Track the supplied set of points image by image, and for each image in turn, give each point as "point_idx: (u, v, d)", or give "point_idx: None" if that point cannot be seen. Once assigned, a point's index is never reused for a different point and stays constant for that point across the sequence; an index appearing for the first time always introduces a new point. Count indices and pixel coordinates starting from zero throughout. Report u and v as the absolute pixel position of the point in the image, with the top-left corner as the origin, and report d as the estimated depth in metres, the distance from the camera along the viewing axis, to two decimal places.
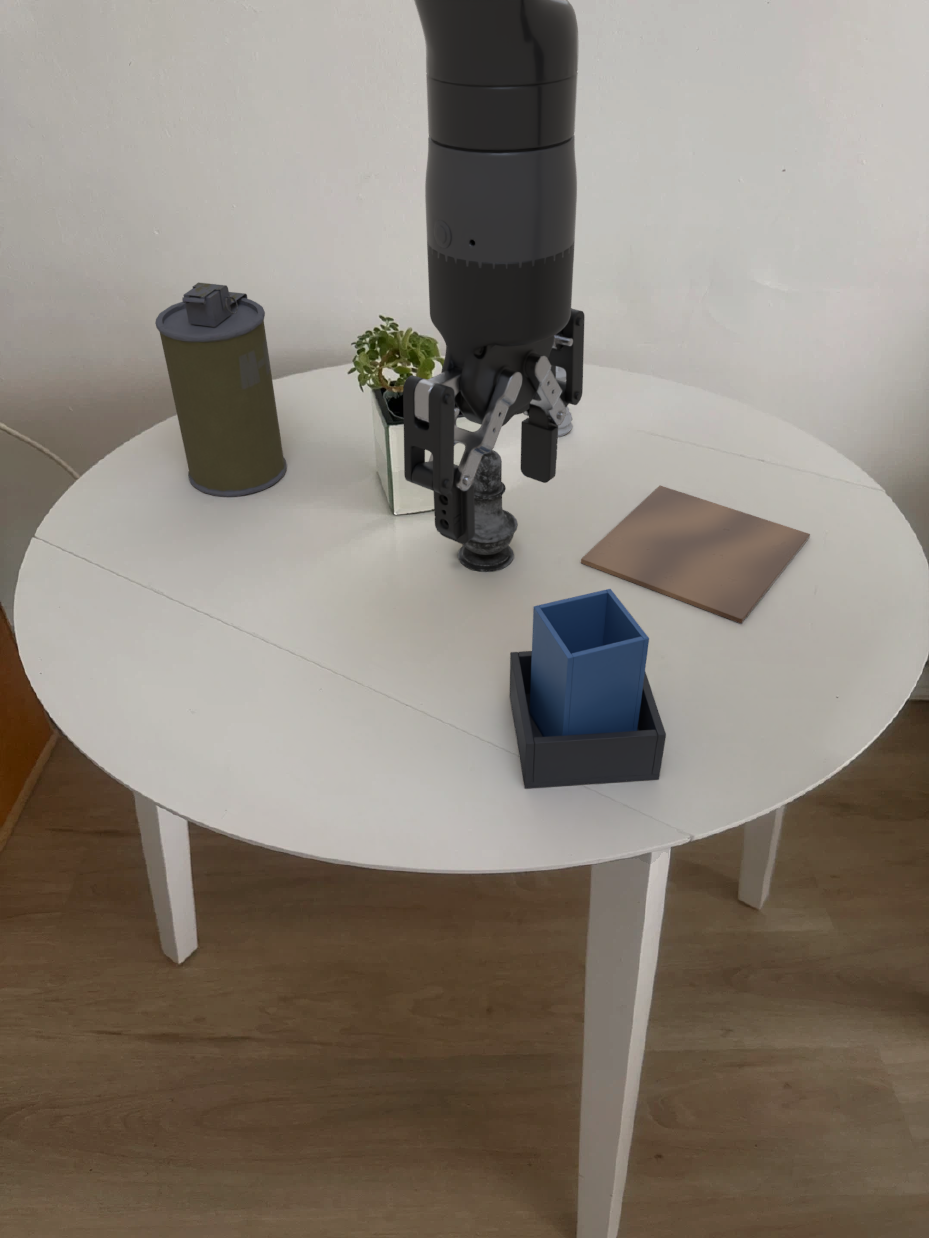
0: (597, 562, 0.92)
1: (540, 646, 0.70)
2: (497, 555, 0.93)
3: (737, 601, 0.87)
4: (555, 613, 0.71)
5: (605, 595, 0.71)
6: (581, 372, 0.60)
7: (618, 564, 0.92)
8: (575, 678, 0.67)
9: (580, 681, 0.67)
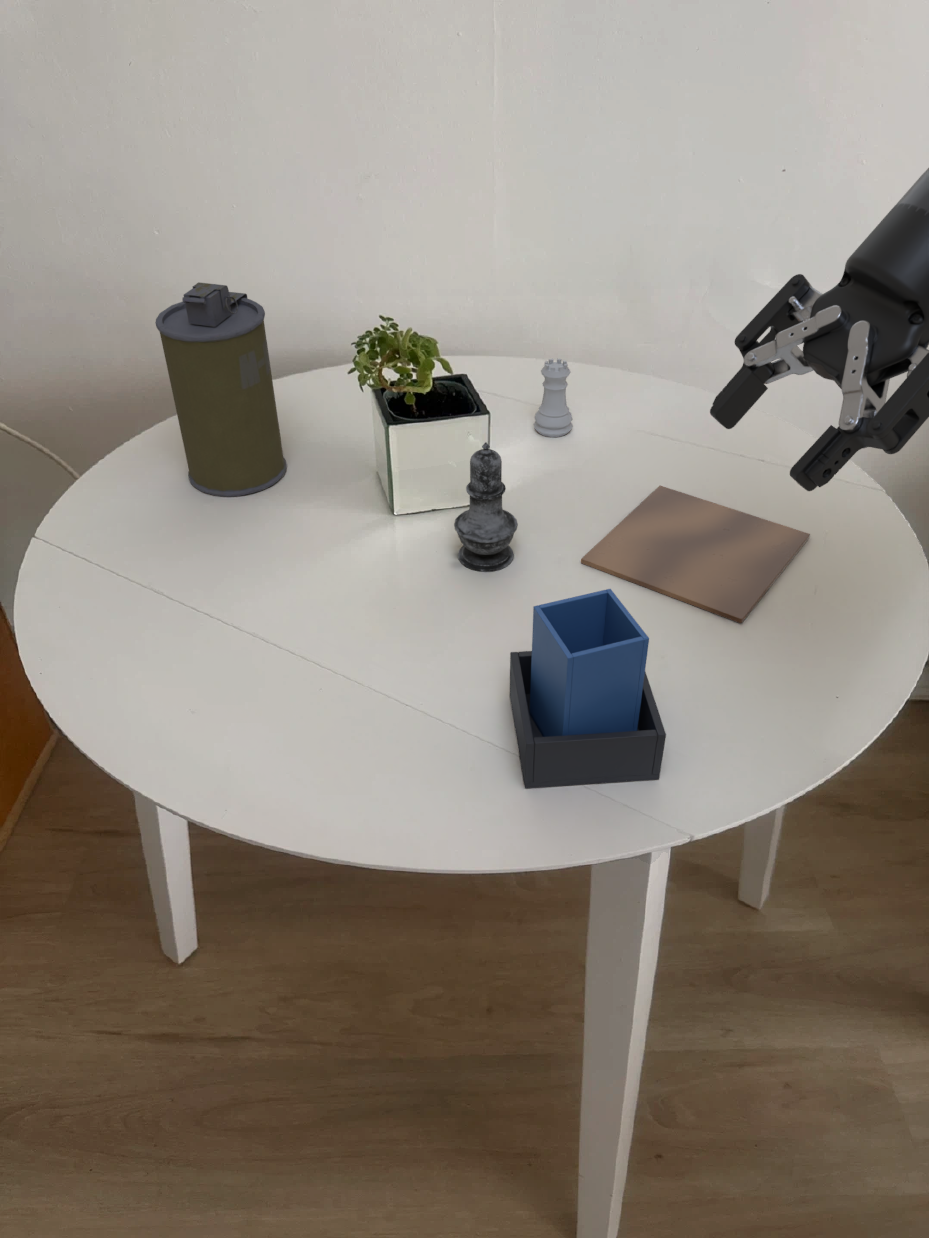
0: (597, 562, 0.92)
1: (540, 646, 0.70)
2: (497, 555, 0.93)
3: (737, 601, 0.87)
4: (555, 613, 0.71)
5: (605, 595, 0.71)
6: (899, 409, 0.57)
7: (618, 564, 0.92)
8: (575, 678, 0.67)
9: (580, 681, 0.67)
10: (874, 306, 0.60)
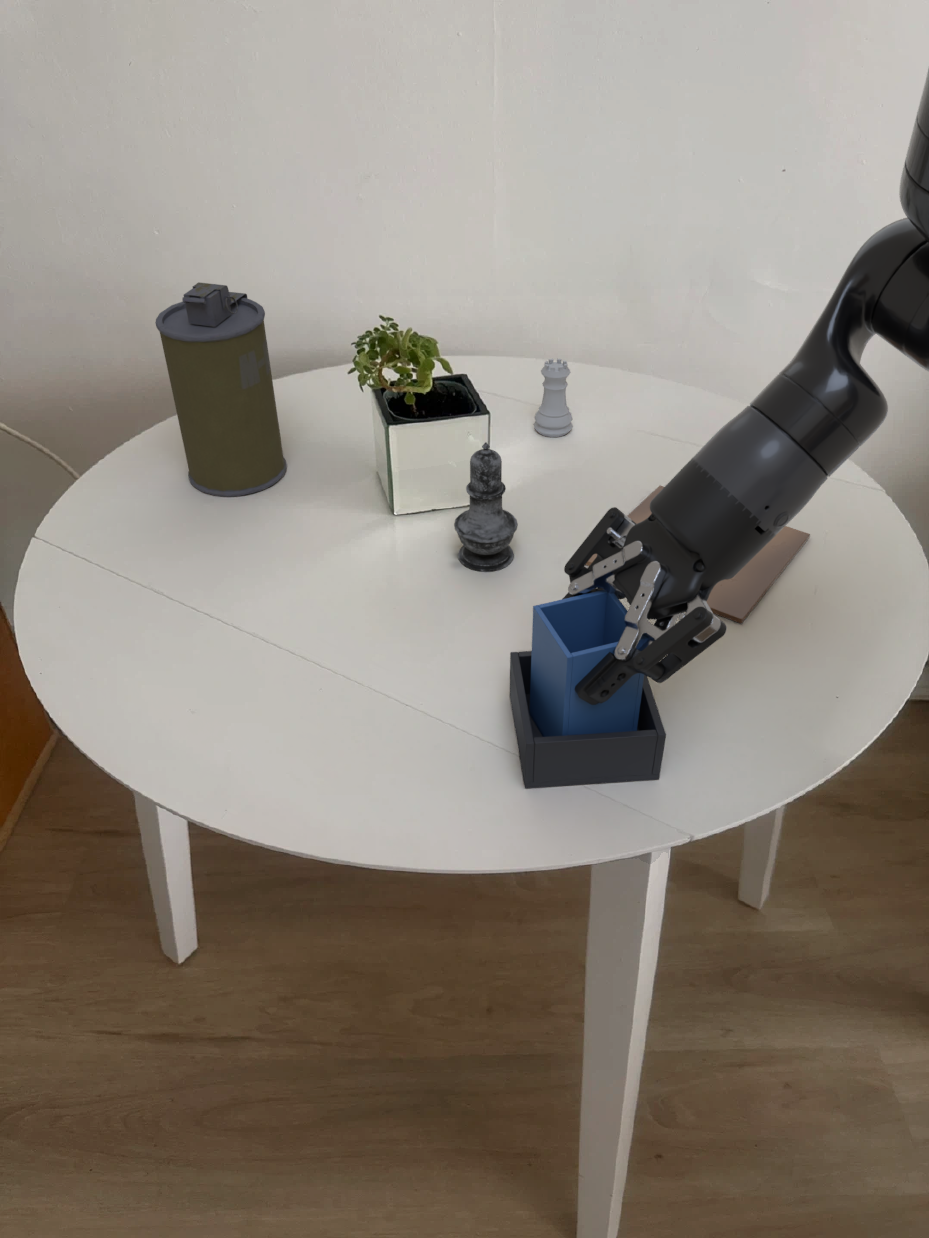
0: None
1: (540, 646, 0.70)
2: (497, 555, 0.93)
3: (737, 601, 0.87)
4: (555, 613, 0.71)
5: (605, 595, 0.71)
6: (659, 652, 0.63)
7: None
8: (575, 678, 0.67)
9: None
10: (670, 546, 0.67)
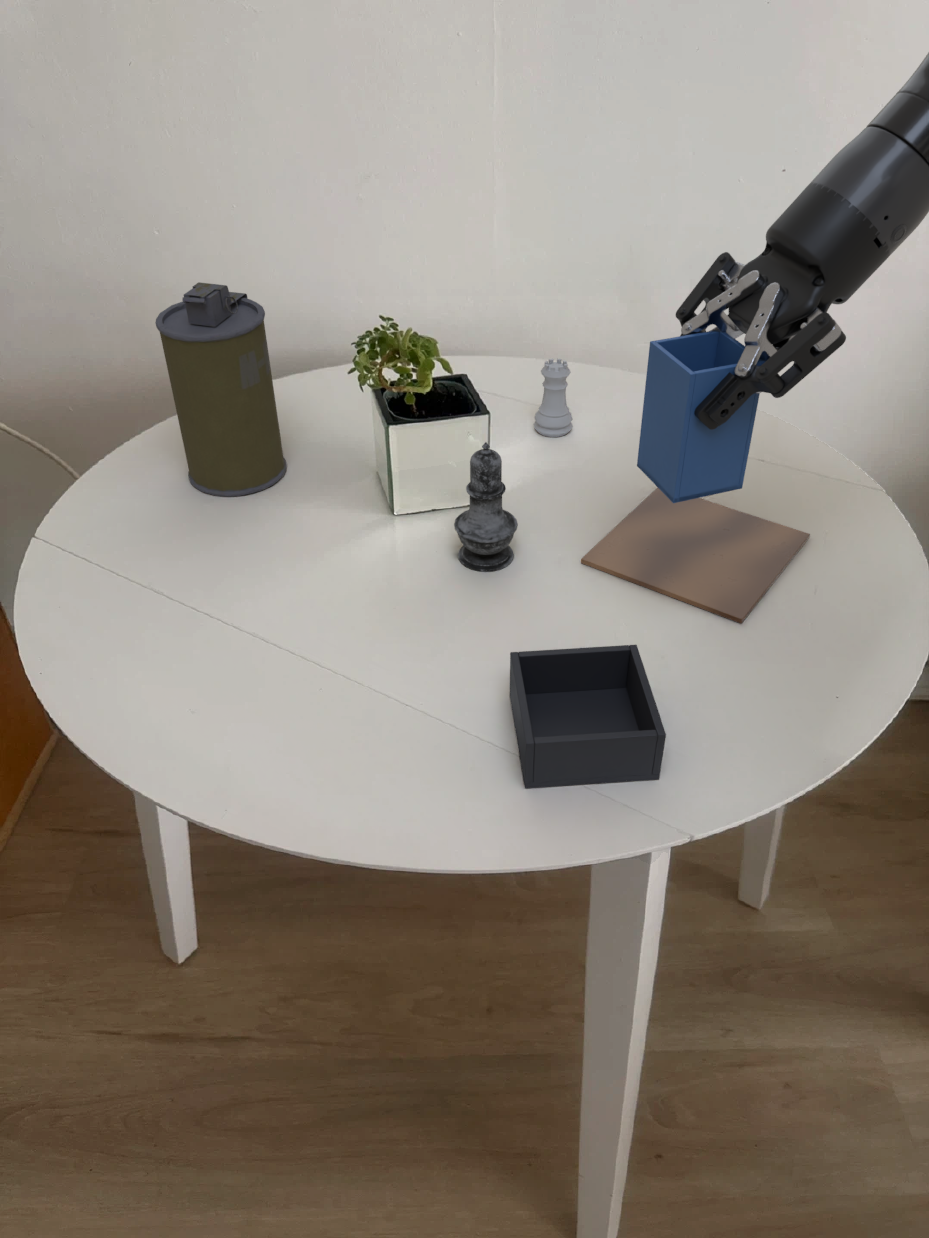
0: (597, 562, 0.92)
1: (656, 381, 0.74)
2: (497, 555, 0.93)
3: (737, 601, 0.87)
4: (670, 350, 0.74)
5: (717, 335, 0.74)
6: (782, 360, 0.67)
7: (618, 564, 0.92)
8: (695, 399, 0.70)
9: None
10: (787, 271, 0.70)
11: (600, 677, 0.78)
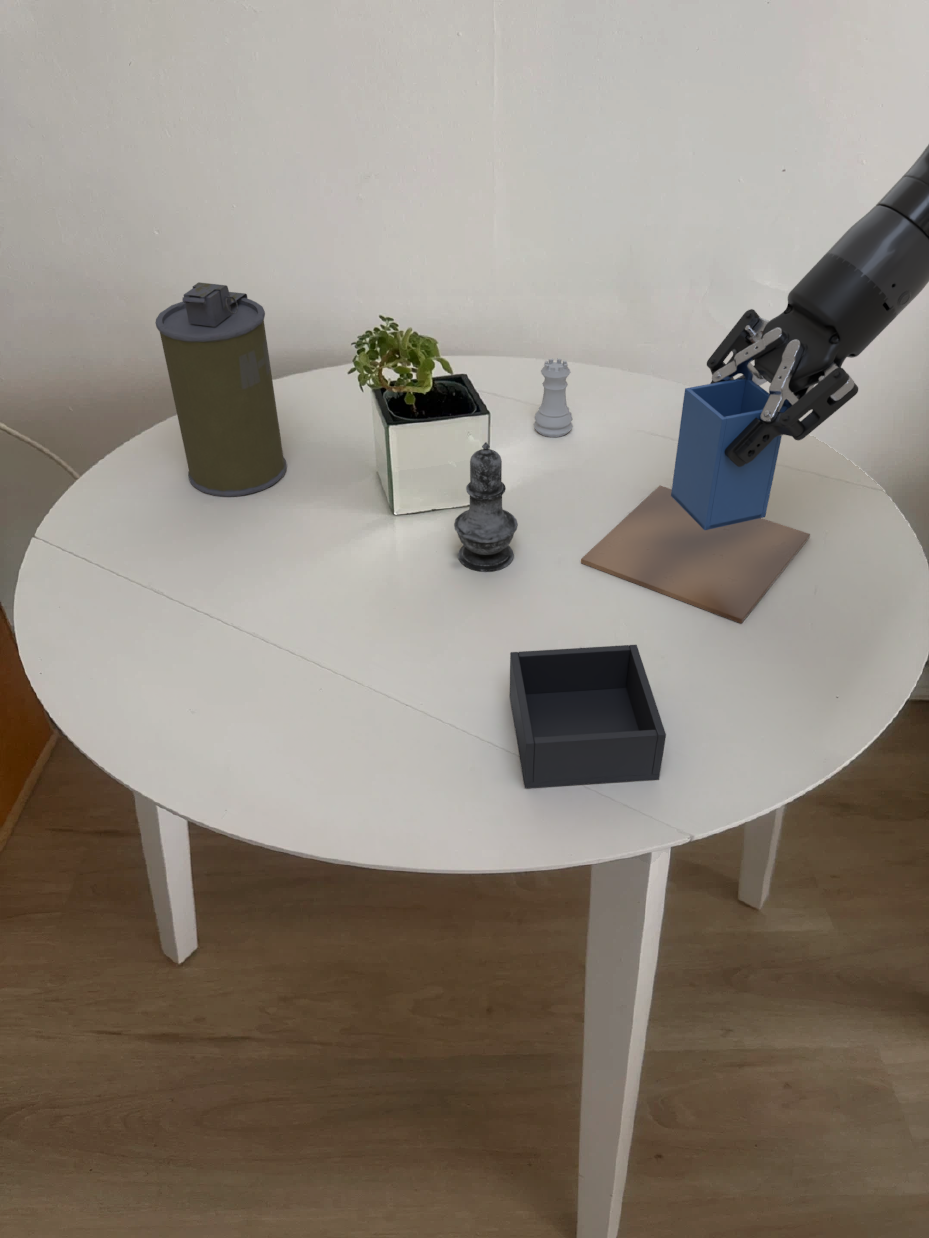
0: (597, 562, 0.92)
1: (690, 423, 0.83)
2: (497, 555, 0.93)
3: (737, 601, 0.87)
4: (702, 396, 0.84)
5: (743, 382, 0.84)
6: (802, 408, 0.77)
7: (618, 564, 0.92)
8: (725, 440, 0.80)
9: (729, 444, 0.80)
10: (806, 329, 0.80)
11: (600, 677, 0.78)
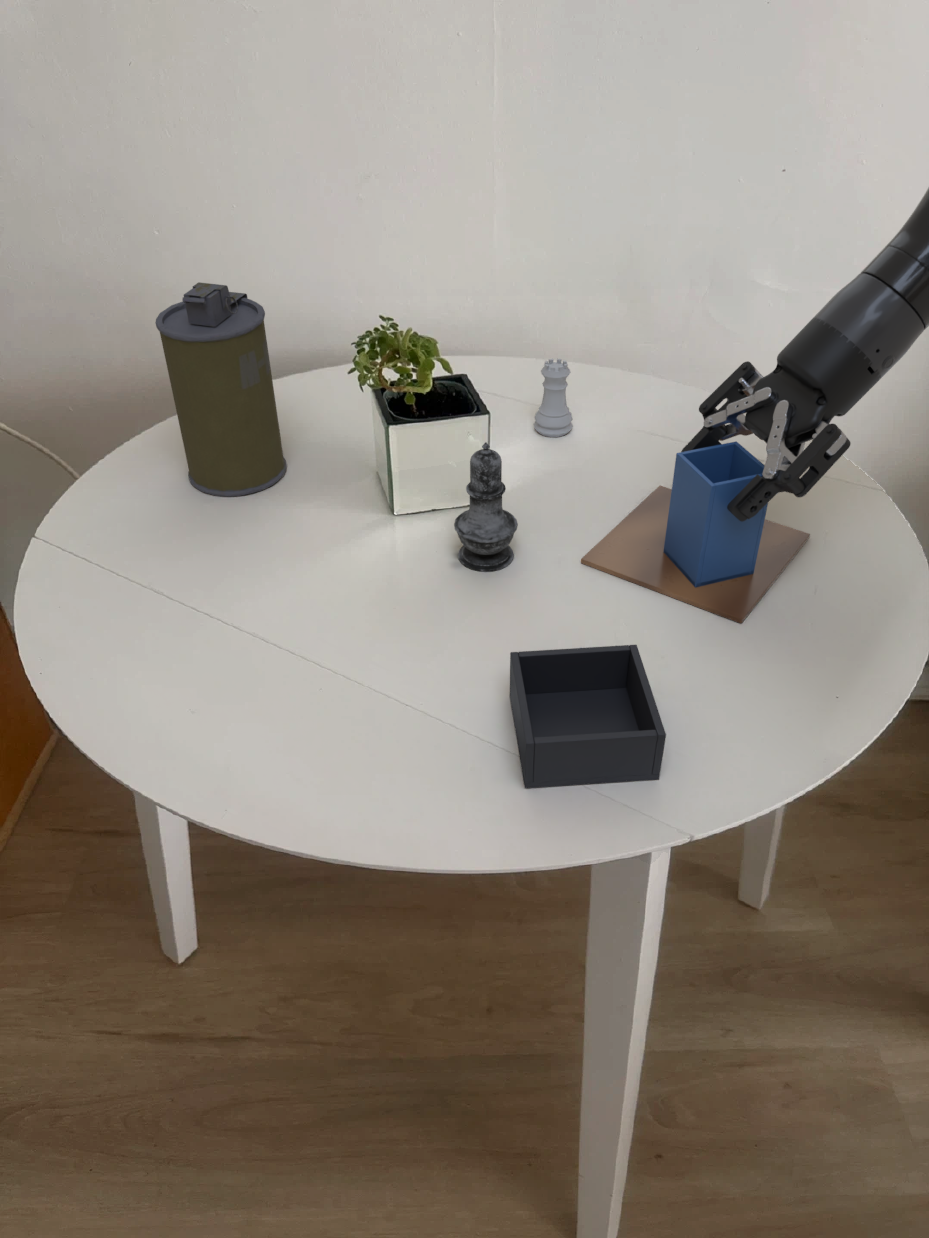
0: (597, 562, 0.92)
1: (681, 486, 0.87)
2: (497, 555, 0.93)
3: (737, 601, 0.87)
4: (693, 460, 0.87)
5: (732, 446, 0.88)
6: (802, 465, 0.79)
7: (618, 564, 0.92)
8: (715, 505, 0.84)
9: (719, 508, 0.84)
10: (795, 389, 0.83)
11: (600, 677, 0.78)
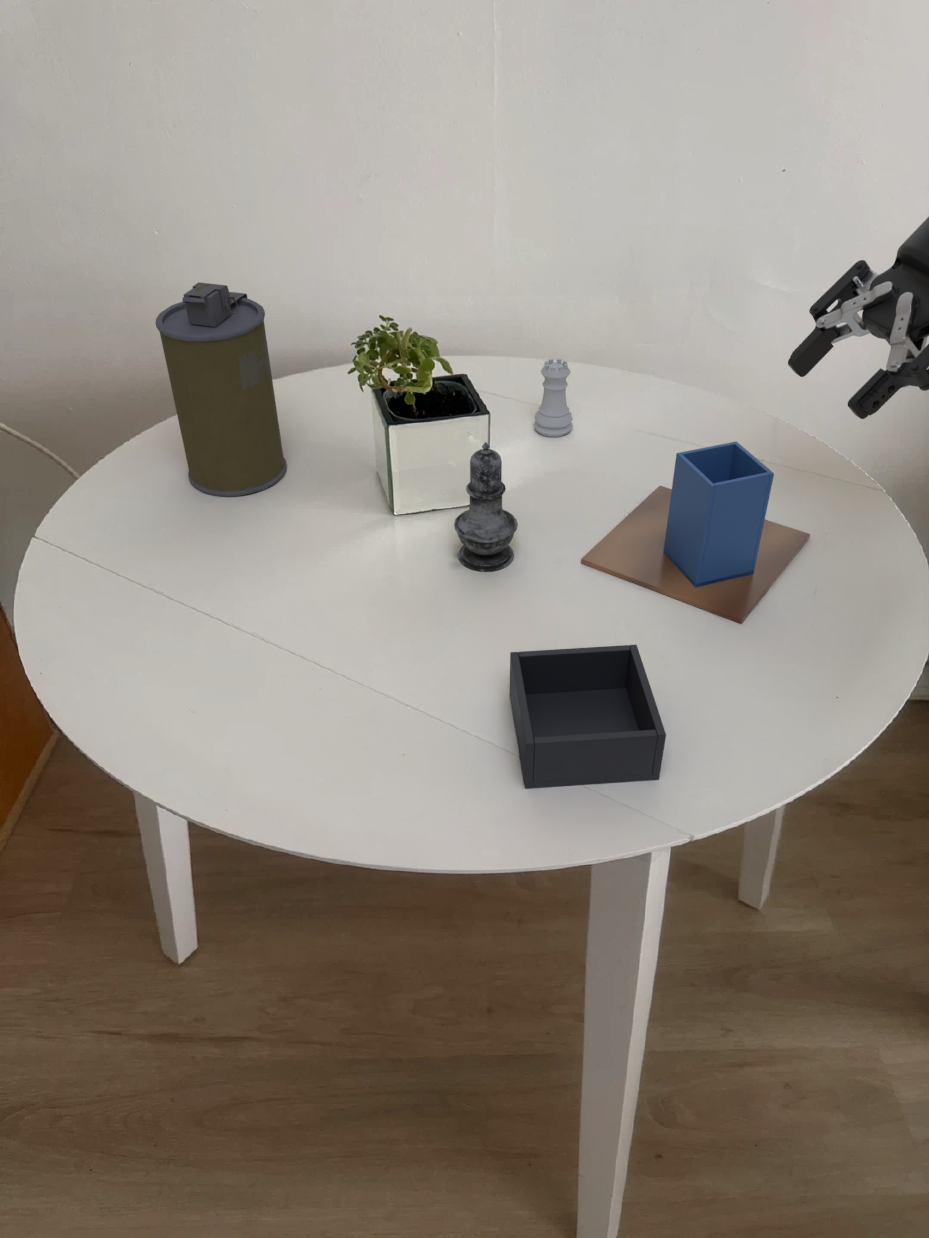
0: (597, 562, 0.92)
1: (681, 486, 0.87)
2: (497, 555, 0.93)
3: (737, 601, 0.87)
4: (693, 460, 0.87)
5: (732, 446, 0.88)
6: None
7: (618, 564, 0.92)
8: (715, 505, 0.84)
9: (719, 508, 0.84)
10: (917, 282, 0.81)
11: (600, 677, 0.78)
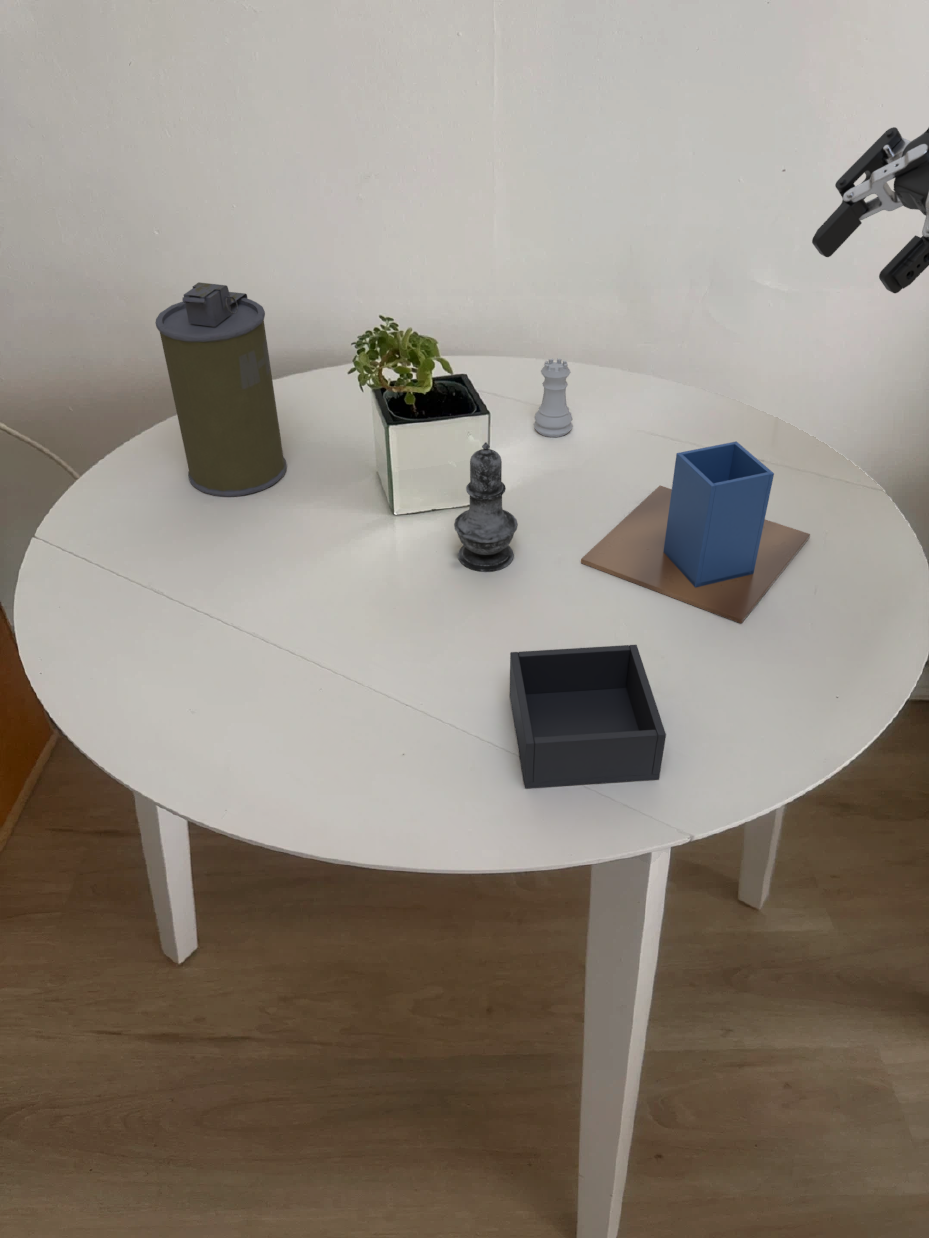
0: (597, 562, 0.92)
1: (681, 486, 0.87)
2: (497, 555, 0.93)
3: (737, 601, 0.87)
4: (693, 460, 0.87)
5: (732, 446, 0.88)
6: None
7: (618, 564, 0.92)
8: (715, 505, 0.84)
9: (719, 508, 0.84)
10: None
11: (600, 677, 0.78)
